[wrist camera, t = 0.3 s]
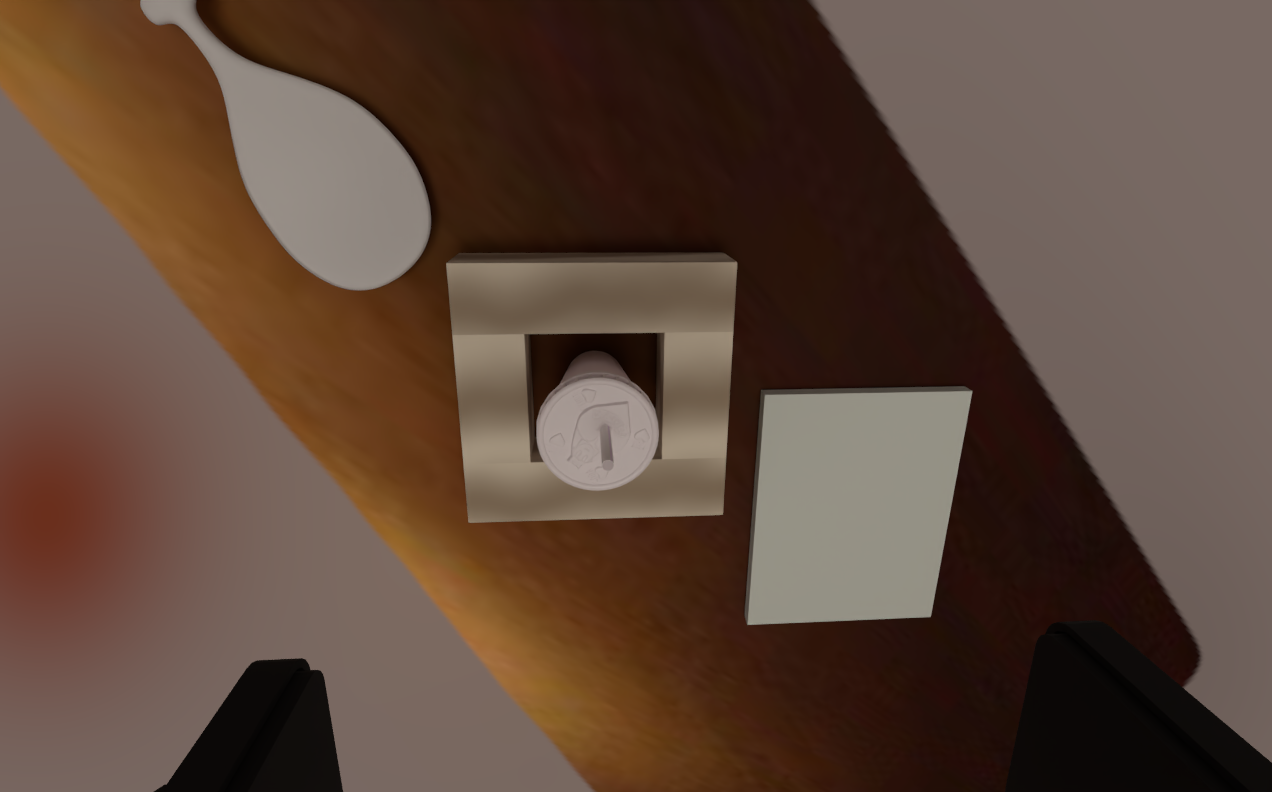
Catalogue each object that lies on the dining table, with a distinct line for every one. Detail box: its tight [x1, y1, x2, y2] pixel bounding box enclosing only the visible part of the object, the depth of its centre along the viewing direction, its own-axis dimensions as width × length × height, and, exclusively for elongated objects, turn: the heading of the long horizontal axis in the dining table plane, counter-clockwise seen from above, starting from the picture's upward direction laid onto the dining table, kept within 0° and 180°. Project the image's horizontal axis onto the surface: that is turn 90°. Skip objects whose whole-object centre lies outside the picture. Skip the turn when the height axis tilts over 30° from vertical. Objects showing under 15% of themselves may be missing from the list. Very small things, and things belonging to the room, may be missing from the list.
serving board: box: [745, 386, 972, 625], centre depth 48 cm, size 18×14×1 cm
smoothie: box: [536, 351, 659, 491], centre depth 37 cm, size 6×6×14 cm
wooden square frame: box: [446, 252, 737, 523], centre depth 42 cm, size 16×16×4 cm
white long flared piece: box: [140, 0, 431, 290], centre depth 34 cm, size 9×32×4 cm, turn 34°
